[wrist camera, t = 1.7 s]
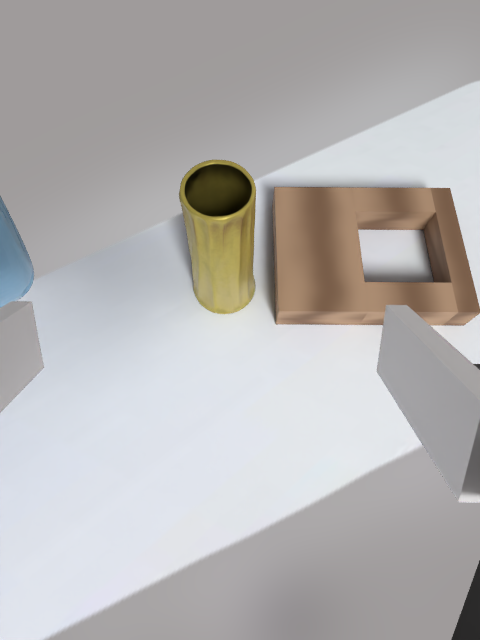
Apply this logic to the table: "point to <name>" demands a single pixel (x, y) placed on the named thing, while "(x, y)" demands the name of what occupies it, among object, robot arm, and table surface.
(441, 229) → the frame
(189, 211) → the vase
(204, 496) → the table surface
